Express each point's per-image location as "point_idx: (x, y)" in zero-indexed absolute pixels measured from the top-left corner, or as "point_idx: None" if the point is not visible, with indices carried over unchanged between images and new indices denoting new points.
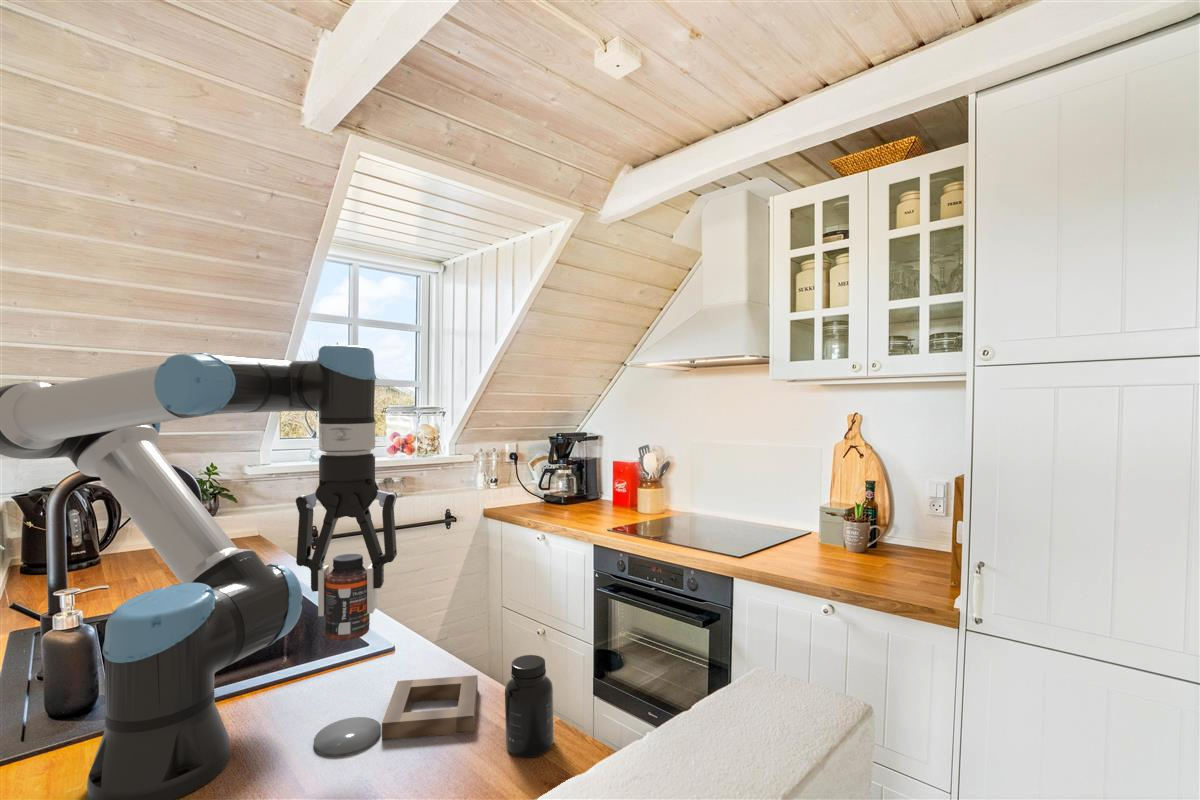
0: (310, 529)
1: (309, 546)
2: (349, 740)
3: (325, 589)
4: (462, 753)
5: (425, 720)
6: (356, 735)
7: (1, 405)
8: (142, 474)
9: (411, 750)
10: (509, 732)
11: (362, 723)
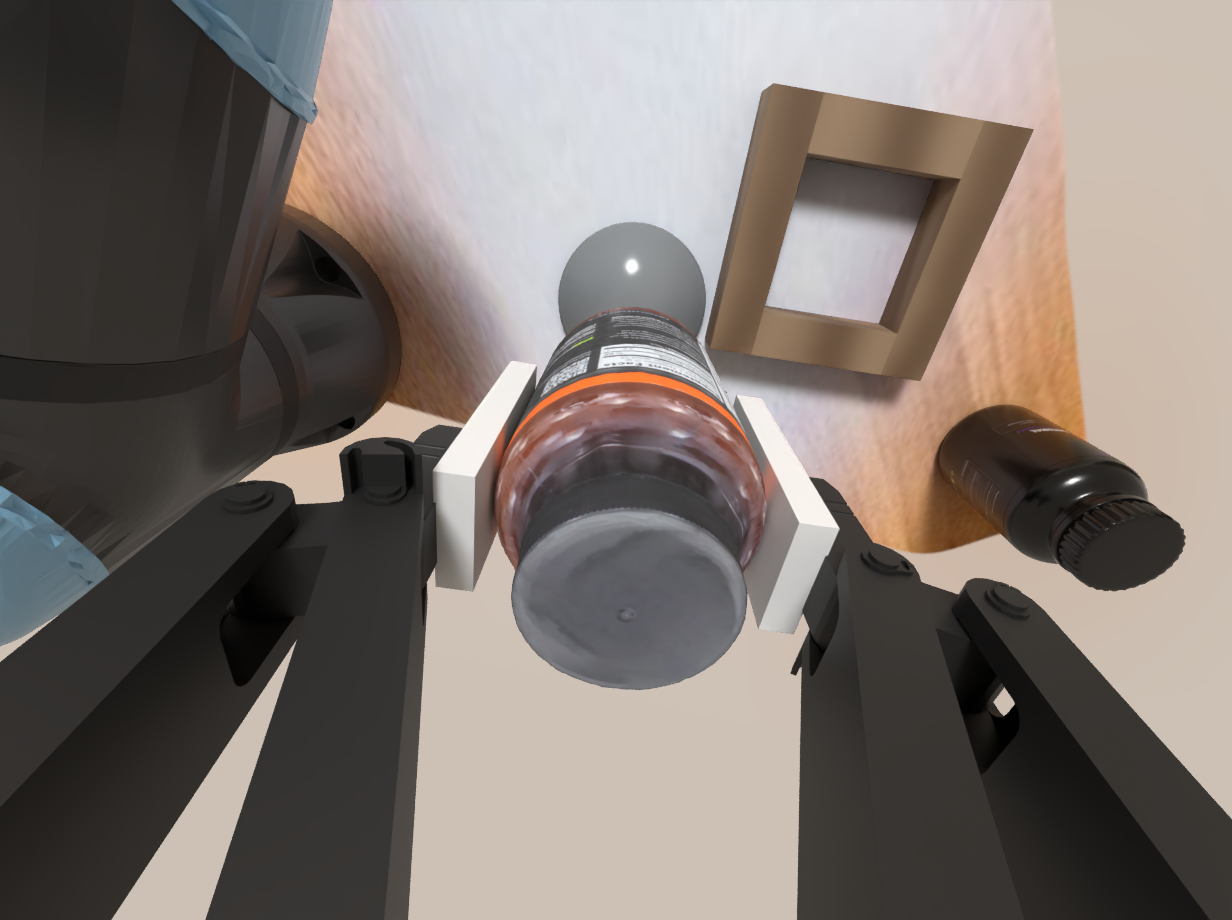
0: (45, 856)
1: (213, 607)
2: None
3: None
4: (853, 433)
5: (809, 363)
6: None
7: None
8: None
9: (761, 393)
10: (959, 485)
11: (662, 265)
